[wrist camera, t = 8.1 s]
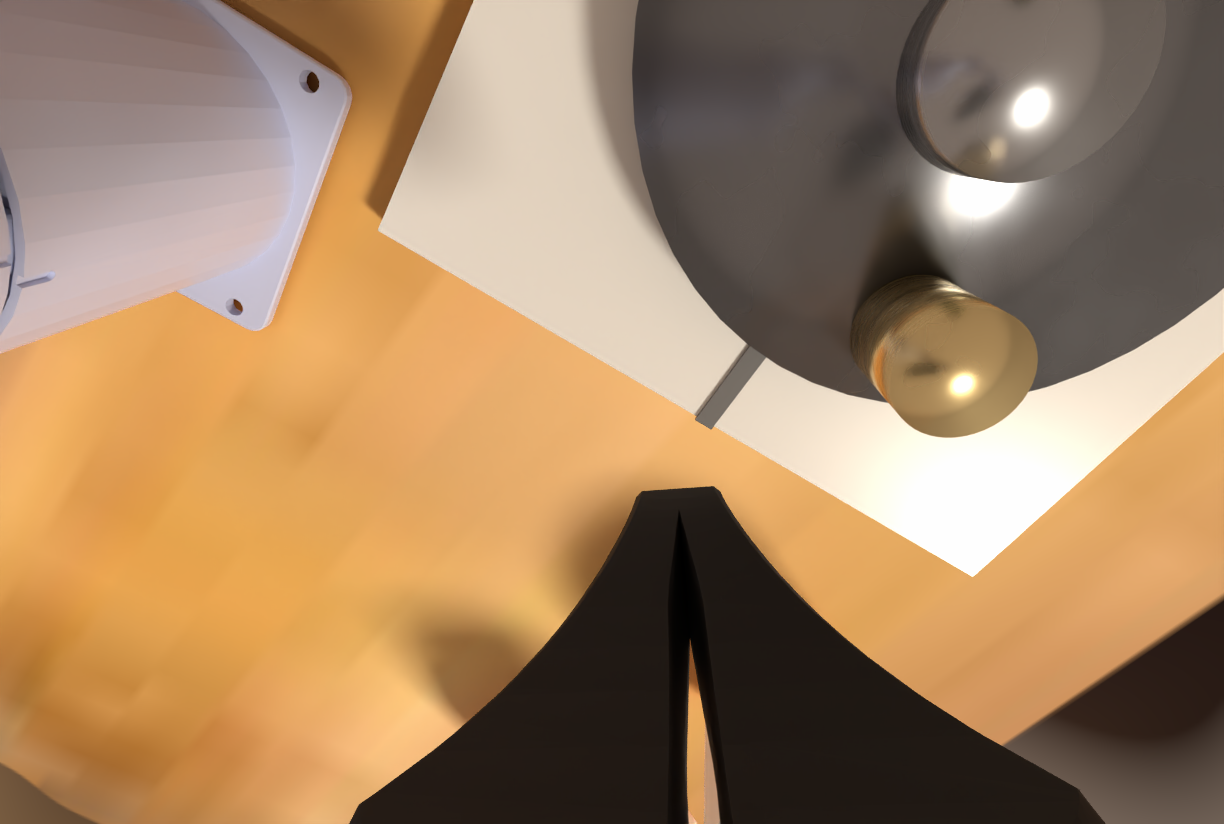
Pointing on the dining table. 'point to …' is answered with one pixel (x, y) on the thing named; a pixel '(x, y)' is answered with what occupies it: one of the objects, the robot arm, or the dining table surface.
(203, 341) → the dining table surface
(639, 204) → the wheel base
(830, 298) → the handwheel
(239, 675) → the dining table surface
